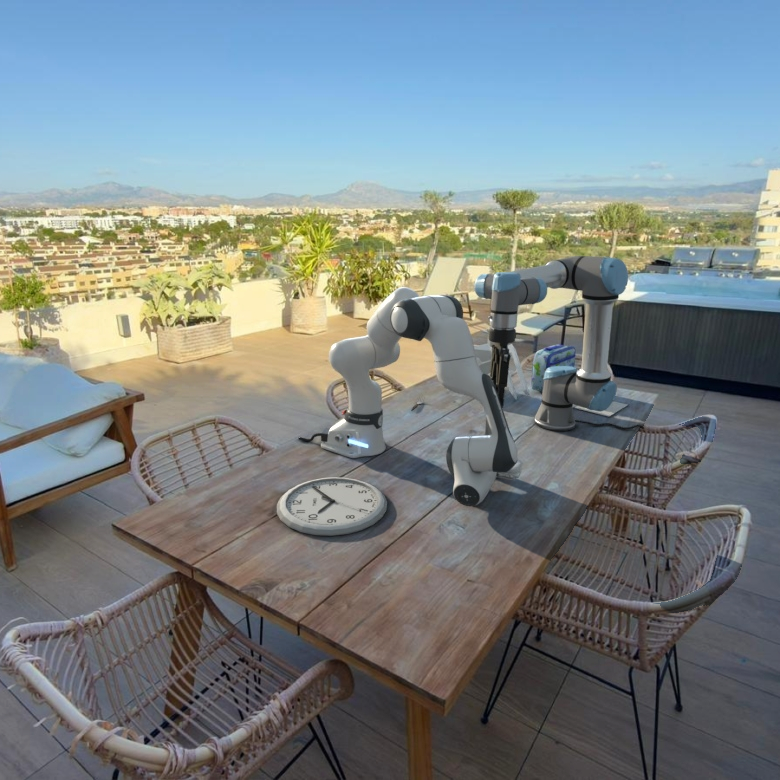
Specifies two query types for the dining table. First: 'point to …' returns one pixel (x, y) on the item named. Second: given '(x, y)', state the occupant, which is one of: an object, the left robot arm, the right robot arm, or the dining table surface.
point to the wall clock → (331, 506)
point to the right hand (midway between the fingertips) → (496, 404)
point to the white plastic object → (484, 362)
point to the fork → (418, 403)
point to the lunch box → (550, 362)
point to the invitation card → (609, 411)
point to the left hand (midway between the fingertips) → (492, 453)
